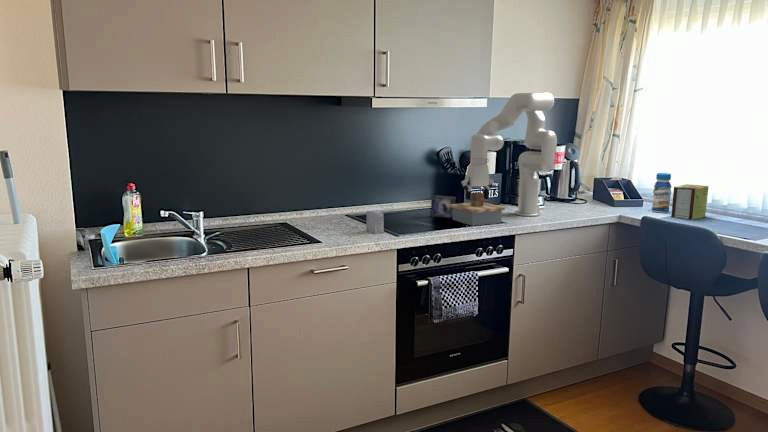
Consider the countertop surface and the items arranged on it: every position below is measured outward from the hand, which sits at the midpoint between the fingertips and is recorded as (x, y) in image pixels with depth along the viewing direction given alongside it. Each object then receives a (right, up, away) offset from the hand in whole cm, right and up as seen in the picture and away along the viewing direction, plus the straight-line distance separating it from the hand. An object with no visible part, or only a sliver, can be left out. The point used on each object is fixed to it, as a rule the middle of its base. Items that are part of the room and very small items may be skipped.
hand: (477, 199), depth 267 cm
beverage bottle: (+102, -6, +36) cm, 108 cm away
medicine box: (-47, -15, -18) cm, 52 cm away
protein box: (+109, -9, +22) cm, 111 cm away
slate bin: (0, -11, +2) cm, 11 cm away
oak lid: (0, -4, +1) cm, 4 cm away
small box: (-14, -9, +15) cm, 23 cm away
